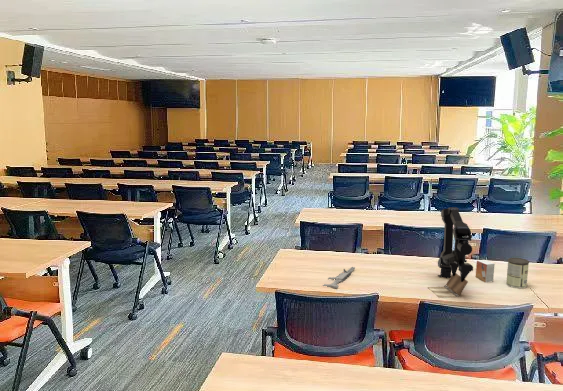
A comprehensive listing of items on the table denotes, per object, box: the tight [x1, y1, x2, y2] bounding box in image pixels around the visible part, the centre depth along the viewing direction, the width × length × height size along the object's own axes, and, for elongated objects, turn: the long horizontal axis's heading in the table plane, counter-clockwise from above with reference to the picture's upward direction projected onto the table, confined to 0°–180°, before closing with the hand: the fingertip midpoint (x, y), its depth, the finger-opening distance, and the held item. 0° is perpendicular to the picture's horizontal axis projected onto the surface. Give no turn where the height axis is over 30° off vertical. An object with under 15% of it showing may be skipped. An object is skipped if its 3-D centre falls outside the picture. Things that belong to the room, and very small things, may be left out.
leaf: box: [445, 273, 469, 296], centre depth 253 cm, size 14×10×2 cm
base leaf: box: [427, 284, 461, 299], centre depth 253 cm, size 14×11×2 cm
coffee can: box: [506, 257, 530, 289], centre depth 265 cm, size 10×10×14 cm
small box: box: [474, 259, 496, 283], centre depth 274 cm, size 8×6×10 cm
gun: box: [322, 266, 356, 290], centre depth 277 cm, size 36×4×10 cm
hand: (457, 278), depth 253 cm, fingers open, 9 cm apart
